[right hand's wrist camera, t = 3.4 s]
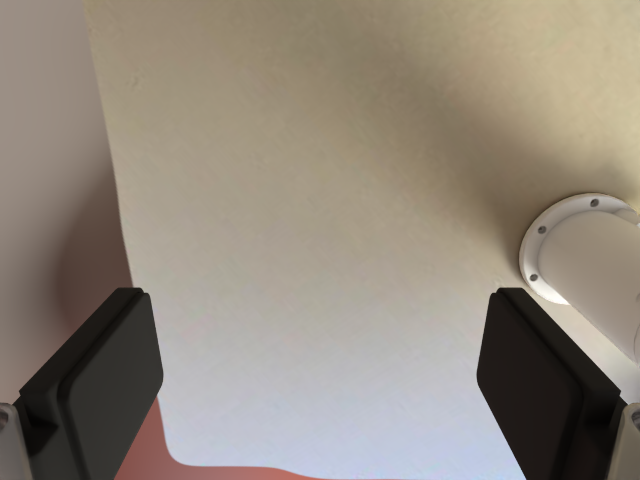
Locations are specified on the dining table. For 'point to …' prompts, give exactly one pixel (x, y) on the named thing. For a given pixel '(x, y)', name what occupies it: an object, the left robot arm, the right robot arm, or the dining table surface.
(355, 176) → the dining table surface
